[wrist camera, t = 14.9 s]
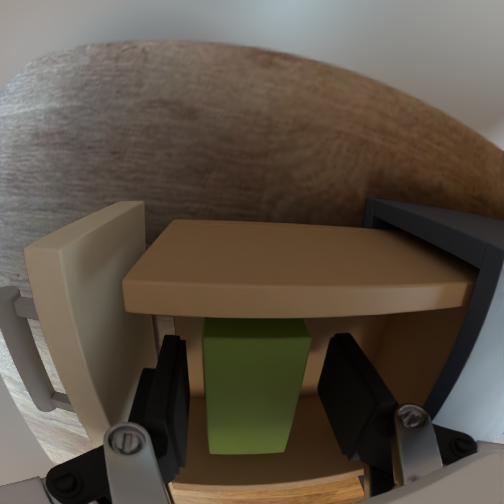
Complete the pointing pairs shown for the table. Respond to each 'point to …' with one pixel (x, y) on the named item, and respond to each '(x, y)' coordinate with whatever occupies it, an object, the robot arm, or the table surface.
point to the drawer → (231, 306)
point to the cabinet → (476, 319)
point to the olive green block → (252, 381)
